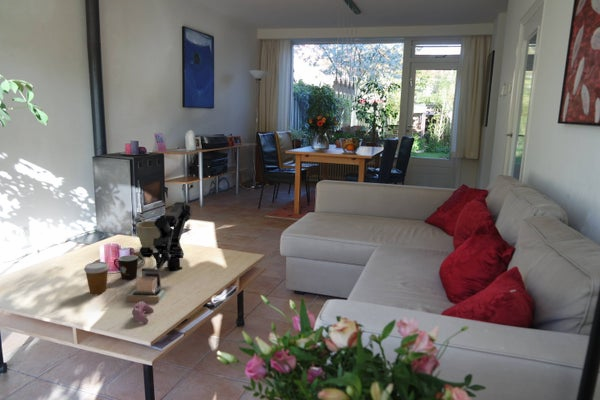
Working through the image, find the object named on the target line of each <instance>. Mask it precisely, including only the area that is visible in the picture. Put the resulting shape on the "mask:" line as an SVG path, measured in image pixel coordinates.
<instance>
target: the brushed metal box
mask: <svg viewBox="0 0 600 400" xmlns="http://www.w3.org/2000/svg"><path fill="white" fill-rule="evenodd" d="M135 281H136V285H135V286H136V289H137V290H136V291H135V292H134V295H148V296H156V294H159V293H160V292H161V288H162V284H161V283H162V282H161V268H160V269H157V268H151V267H149V268H148V267H142V268H141V276H140V277H139V278H138V279H137V280H135Z"/></svg>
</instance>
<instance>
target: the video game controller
mask: <svg viewBox="0 0 600 400" xmlns="http://www.w3.org/2000/svg"><path fill="white" fill-rule="evenodd" d="M154 311H155V310H154V309H153V307H151V306H150V305H148V303H145V302H143V301H142V302H136V303H135V304H134V306H133V310H132V311H131V314H132V316H133V318H134V319H136V320H137V321H138V322H140V323H143V324H148V322H149V318H148V317H147V316H146V313H151V314H152V313H154Z"/></svg>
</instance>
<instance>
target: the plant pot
mask: <svg viewBox="0 0 600 400" xmlns="http://www.w3.org/2000/svg"><path fill="white" fill-rule="evenodd" d="M155 221H156V220H149V221H148V220H147V221H141V222H140V221H139V222H138V223H136V224H135V225H136V226H135V227H136V230H137V237H138V239H139V242H140V243H139V244H141V247H150V249H151V250H153V249H156V248H154V246H153V239H154V238H159V235H160V233H159V232H158V230H157V228H156V226H155V224H154V223H155Z"/></svg>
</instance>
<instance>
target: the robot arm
mask: <svg viewBox="0 0 600 400" xmlns="http://www.w3.org/2000/svg"><path fill="white" fill-rule="evenodd" d="M192 216H193V208H192V207H191V206H190V205H189V204H187V203H186V202H183V201H180V202H179V201H176V202H174V205H173V206H172V207H171V209H170V210H169V212H167V213H164V214H162V215H161V214H160V216H159V217H158V218H157V219H155V220H154V221H155V223H154V224H155V226H156V228H157V230H158V232H159V233H160V235H159V238H154V239H153V246H154V248H156V249H153V250H151V249H150V247H142V246H141V247H140V248H139V251H138V252H139V253H140V255H141V257H142V258H151V257H153V259H154V260H155V265H156V269H160V270H161V269H162V267H163V266H164V265H165V263H166V266H165V267H164V269H165V270H167V271H169V272H175V271H178V270H182V269H183V267H182V266H181V261H180V260H181V259H183V258H184V256H185V255H184V254H185V252H184V251H183V248H182V246H181V242H180V241H181V238H182V235H183V232H184V229H185V226H186V225H185V224H186V223H187V222H188V221H189V220H190V219H191V217H192Z"/></svg>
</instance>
